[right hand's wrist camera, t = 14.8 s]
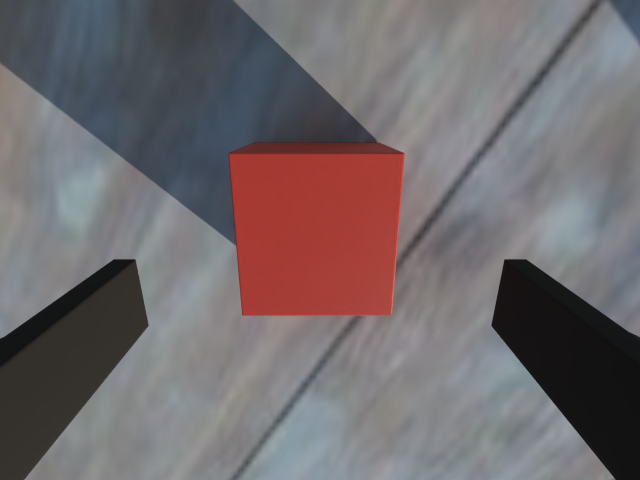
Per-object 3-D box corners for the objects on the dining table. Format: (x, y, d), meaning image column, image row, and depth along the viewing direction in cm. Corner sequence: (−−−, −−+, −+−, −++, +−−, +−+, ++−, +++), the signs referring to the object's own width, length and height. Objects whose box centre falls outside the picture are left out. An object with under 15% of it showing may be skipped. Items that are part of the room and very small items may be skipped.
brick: (373, 265, 26) (392, 315, 20) (261, 266, 26) (242, 316, 20) (380, 142, 23) (405, 152, 17) (253, 142, 23) (228, 152, 17)
